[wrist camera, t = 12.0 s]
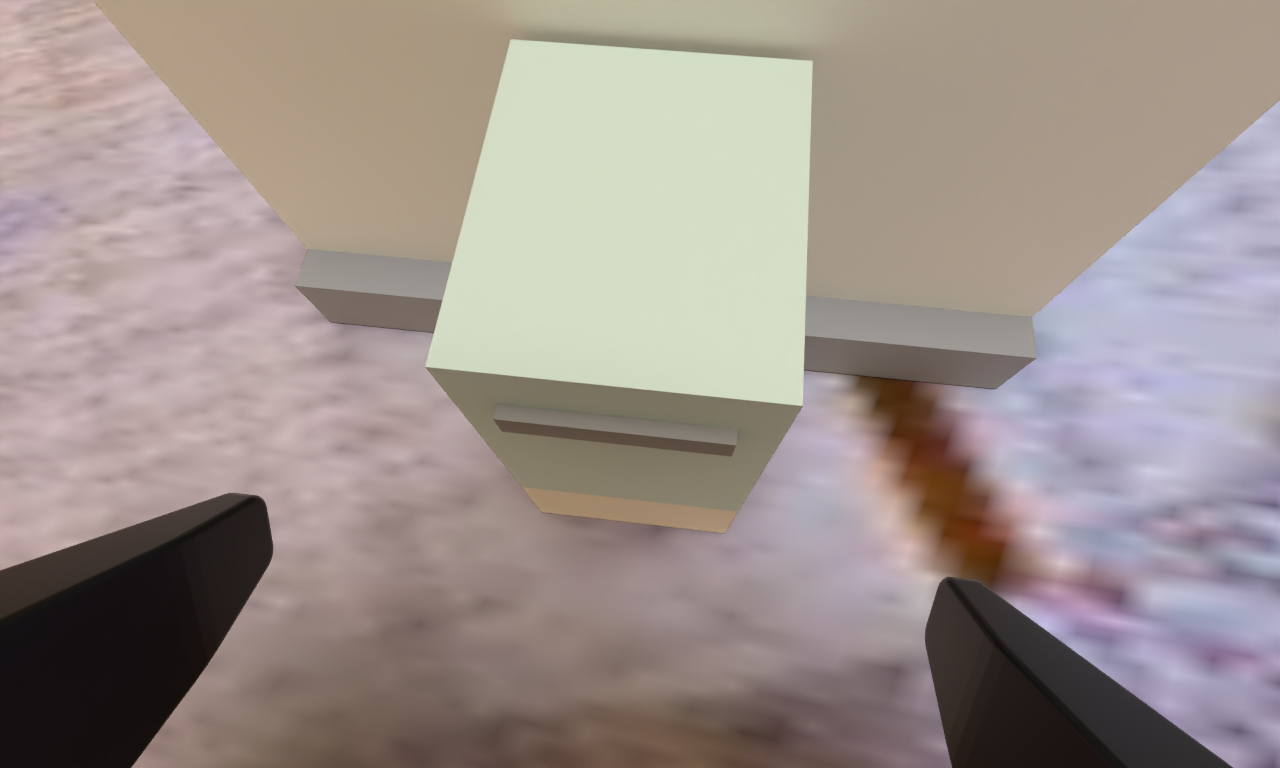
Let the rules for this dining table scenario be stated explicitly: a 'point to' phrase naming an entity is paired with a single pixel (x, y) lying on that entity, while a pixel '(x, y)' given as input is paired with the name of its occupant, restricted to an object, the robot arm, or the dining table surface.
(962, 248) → the cream l-shaped piece
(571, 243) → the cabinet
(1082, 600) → the dining table surface
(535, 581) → the dining table surface
